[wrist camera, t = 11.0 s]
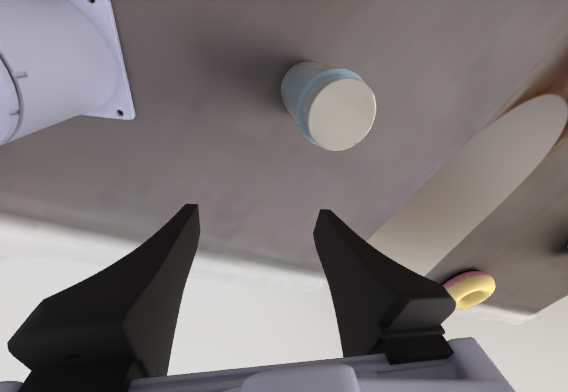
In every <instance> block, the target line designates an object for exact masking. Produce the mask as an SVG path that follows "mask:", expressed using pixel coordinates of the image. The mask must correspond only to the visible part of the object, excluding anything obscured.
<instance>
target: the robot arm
mask: <svg viewBox="0 0 568 392" xmlns="http://www.w3.org/2000/svg"><path fill="white" fill-rule="evenodd" d="M118 110H121V111H122V112H123V115H121V114H119V112H118ZM77 115H86V116H95V117H105V118H114V119H124V120H131V119H133V118H134V117H135V110H134V105H133V101H132V96H131V92H130V87H129V82H128V78H127V73H126V69H125V64H124V60H123V55H122V50H121V46H120V41H119V37H118V32H117V28H116V23H115V19H114V14H113V9H112V5H111V1H110V0H95V2H94V3H92V2H91V1H90V0H0V145H3V144H5V143H8V142H11V141H13V140H16V139H18V138H21V137H23V136H26V135H28V134H31V133H34V132H36V131H39V130H41V129H44V128H46V127H49V126H52V125H54V124H57V123H59V122H62V121H64V120H67V119H69V118H72V117H75V116H77ZM199 236H200V223H199V211H198V204H186V205H184V206H183V207H182V208H181V209H180V211H179V212H178V213H177V214H176V215H175V216H174V217H173V218H172V219H171V220H170V221H168V222H167V223H166V224H165V225H164V226H163V227H162V228H161V229H160V230H159V231H158V232H156V233H155V234H154V235H153V236H152V237H151V238H149V239H148V240H147V241H146V242H144V243H143V244H142V245H141V246H139V247H138V248H136V249H135V250H134V251H132V252H131V253H129V254H128V255H126V256H125V257H123V258H122V259H120V260H118V261H117V262H115V263H114V264H112V265H110V266H109V267H107V268H105V269H104V270H102V271H100V272H98V273H97V274H95V275H93V276H91V277H89V278H87V279H85V280H84V281H82V282H79V283H78V284H75V285H73V286H71V287H69V288H67V289H65V290H63V291H61V292H59V293H57V294H55V295H52V296H50V297H48V298H46V299H44V300H43V301H42V302H41V303H40V304H39V305H38V306H37V307H36V308H35V310H34V311H33V312H32V313H31V314H30V315H29V317H28V318H27V319H26V320H25V322H24V323H23V324H22V325H21V326H20V328H19V329H18V330H17V331H16V333H15V334H14V335H13V336H12V338H11V339H10V340H9V342H8V350H9V352H10V353H11V354H12V355H13V356H14V357H15V358H16V359H18V360H19V361H20V362H21V363H23V364H24V365H25V366H26V367H28V368H29V369H30V370H31V373H30V374H29V376H28V377H27V378H26V380H25V381H24V383H22V382H18V381H3V382H0V392H515V390H514V389H513V388H512V386H511V385H510V384H509V383H508V381H507V380H506V379H505V378H504V376H503V375H502V374H501V372H500V371H499V370H498V368H497V367H496V366H495V365H494V363H493V362H492V361H491V360H490V358H489V357H488V356H487V354H486V353H485V352H484V350H483V349H482V348H481V347H480V345H479V344H478V343H477V341H476V340H475V339H474V338H472V337H468V338H457V339H451V340H449V341H446V340H445V338H444V337H443V336H442V334H444V333H445V331H444V329H443V328H442V326H441V325H440V324H441V323H442V322H443V321H444V320H445V319H447V318H448V317H449V316H450V315H451V314H452V313H453V311H454V310H455V308H456V301H455V300H454V299H453V297H452V296H451V295H450V294H449V293H448V291H447V290H446V289H445V288H444V286H443V285H441V284H439V283H437V282H434V281H432V280H430V279H428V278H426V277H423V276H421V275H419V274H417V273H415V272H413V271H411V270H409V269H407V268H405V267H404V266H402V265H400V264H398V263H397V262H395V261H393V260H392V259H390V258H388V257H387V256H385V255H383V254H382V253H381V252H379V251H378V250H376V249H375V248H373V247H372V246H371V245H370V244H368V243H367V242H366V241H365V240H363V239H362V238H361V237H360V236H358V235H357V234H356V233H355V232H354V231H353V230H351V229H350V228H349V227H348V226H347V225H346V224H345V223H344V222H343V221H342V220H341V219H340V218H338V217H337V216H336V215H335V214H334V213H333V212H332V211H331V210H326V209H320V212H319V216H318V219H317V222H316V226H315V229H314V232H313V236H314V241H315V246H316V249H317V252H318V255H319V258H320V261H321V264H322V267H323V269H324V272H325V275H326V278H327V281H328V284H329V287H330V291H331V295H332V300H333V304H334V308H335V313H336V318H337V323H338V328H339V333H340V339H341V345H342V350H343V358H336V359H326V360H317V361H307V362H297V363H288V364H278V365H268V366H259V367H249V368H239V369H229V370H219V371H210V372H200V373H190V374H182V375H171V376H167V372H168V366H169V360H170V354H171V349H172V343H173V338H174V333H175V328H176V323H177V318H178V313H179V308H180V303H181V299H182V295H183V290H184V287H185V283H186V280H187V277H188V274H189V271H190V268H191V265H192V262H193V259H194V256H195V253H196V250H197V246H198V241H199Z"/></svg>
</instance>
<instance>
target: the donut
mask: <svg viewBox="0 0 568 392" xmlns="http://www.w3.org/2000/svg"><path fill="white" fill-rule="evenodd" d="M443 286H444V288H445V289H446V290H447V291H448V293H449V294H450V295H451V296H452V297H453V299H454V300H455V301H456V308H455V310H462V309H466V308H469V307H472V306H474V305H477V304H479V303H480V302H482V301H484V300H485V299H487V298H488V297H489V296H490V295H491V294H492V293H493V291H494V290H495V282H494V280H493V278H492V277H491V276H489V275H488V274H486V273H484V272H479V271H471V272H466V273H463V274H460V275H458V276H455V277H453V278H452V279H450V280H449V281H447V282H446V283H445V284H444V285H443Z"/></svg>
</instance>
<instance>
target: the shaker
mask: <svg viewBox="0 0 568 392" xmlns="http://www.w3.org/2000/svg"><path fill="white" fill-rule="evenodd" d="M281 98H282V102H283V104H284V106H285V107H286V109H287V111H288V112H289V114H290V115H291V117H292V118H293V120H294V121H295V123H296V125H297V126H298V128H299V129H300V131H301V132H302V134H303V135H304V137H305V138H306V139H307V140H309V141H310V142H311V143H313V144H315V145H318V146H320V147H322V148H324V149H326V150H331V151H340V150H345V149H348V148H350V147H352V146H354V145H355V144H357V143H358V142H360V141H361V140H362V139H363V138H364V137H365V136H366V134H367V133H368V132H369V130H370V128H371V126H372V124H373V122H374V119H375V114H376V101H375V97H374V94H373V92H372V90H371V89H370V87H369V86H368V85H367V84H366V83H365V82H364V81H363V79H362V78H361V77H360V76H359V75H358V74H356V73H355V72H353V71H351V70H348V69H344V68H339V67H335V66H330V65H325V64H320V63H315V62H309V61H306V62H300V63H298V64H296V65H294V66H293V67H292V68H290V69H289V70H288V72H287V73H286V75H285V76H284V78H283V81H282V84H281Z"/></svg>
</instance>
